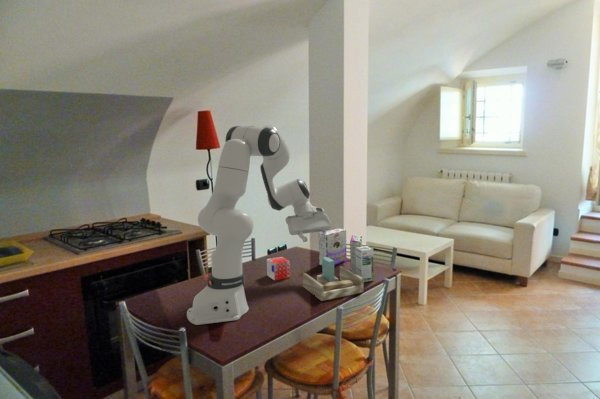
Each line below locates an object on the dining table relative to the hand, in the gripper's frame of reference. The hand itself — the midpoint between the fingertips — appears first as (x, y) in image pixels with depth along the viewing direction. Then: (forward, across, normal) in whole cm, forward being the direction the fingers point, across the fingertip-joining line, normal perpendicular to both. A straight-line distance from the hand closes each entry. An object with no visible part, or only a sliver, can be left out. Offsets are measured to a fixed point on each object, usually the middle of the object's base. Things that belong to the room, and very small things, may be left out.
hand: (315, 239), depth 186 cm
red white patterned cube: (+6, -14, +20) cm, 25 cm away
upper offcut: (+25, 0, -3) cm, 25 cm away
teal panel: (+21, 0, +4) cm, 21 cm away
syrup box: (+21, +18, +4) cm, 28 cm away
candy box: (+2, +17, +23) cm, 29 cm away
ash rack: (+23, 0, +2) cm, 23 cm away
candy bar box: (+14, +20, +11) cm, 27 cm away
